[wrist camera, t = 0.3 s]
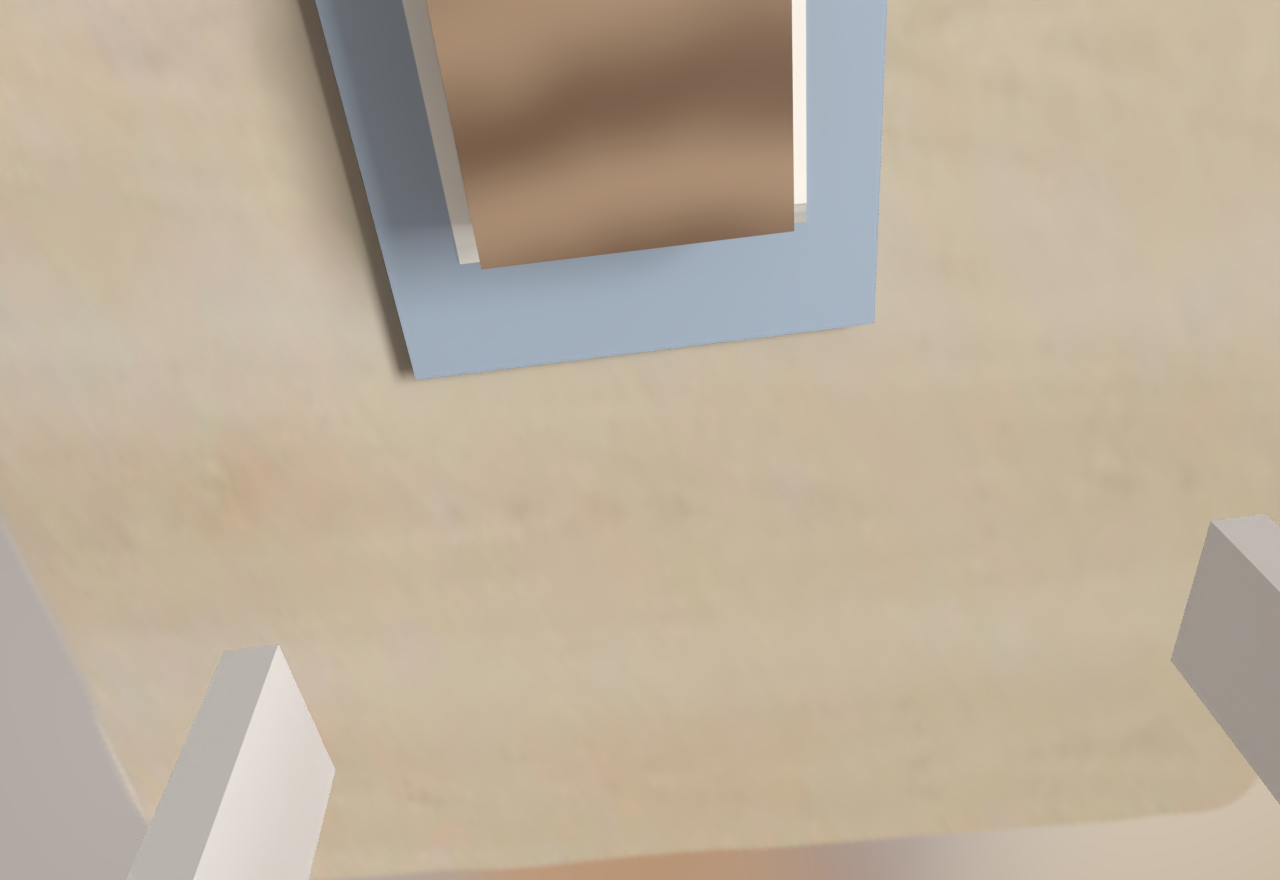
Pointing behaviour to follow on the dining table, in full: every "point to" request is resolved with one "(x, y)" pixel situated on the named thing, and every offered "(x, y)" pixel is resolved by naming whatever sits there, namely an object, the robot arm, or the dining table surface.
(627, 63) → the walnut base block
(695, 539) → the dining table surface
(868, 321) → the board
